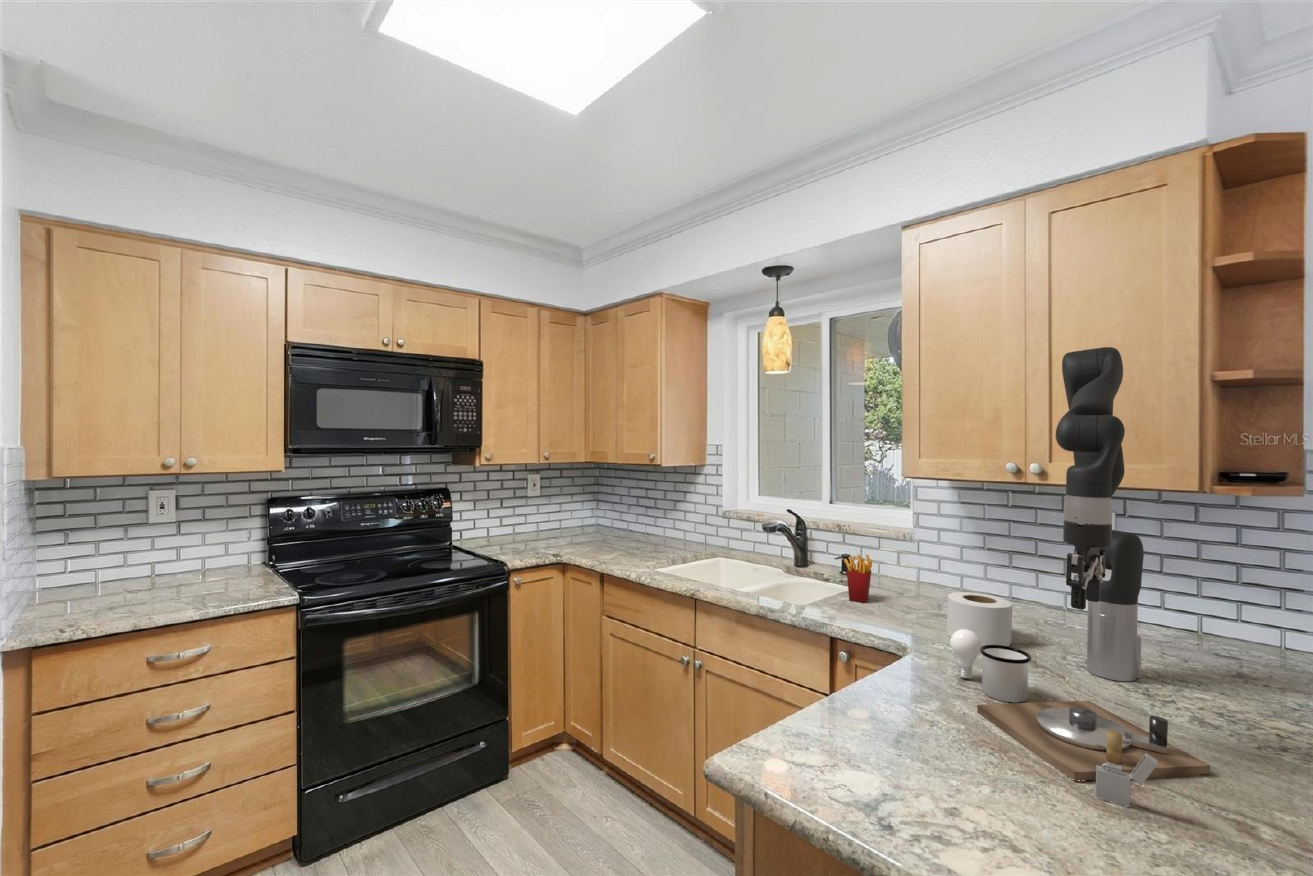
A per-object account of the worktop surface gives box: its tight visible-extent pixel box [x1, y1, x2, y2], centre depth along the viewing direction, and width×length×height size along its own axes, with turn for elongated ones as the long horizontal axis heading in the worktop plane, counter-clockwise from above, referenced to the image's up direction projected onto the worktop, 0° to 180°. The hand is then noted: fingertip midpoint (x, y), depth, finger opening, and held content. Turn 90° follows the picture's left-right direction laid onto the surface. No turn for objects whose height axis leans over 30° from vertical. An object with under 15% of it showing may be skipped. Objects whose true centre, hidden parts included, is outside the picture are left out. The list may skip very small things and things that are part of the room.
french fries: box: [843, 554, 873, 604], centre depth 202 cm, size 9×8×15 cm
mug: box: [980, 645, 1032, 704], centre depth 129 cm, size 12×10×9 cm
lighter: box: [1095, 753, 1158, 808], centre depth 90 cm, size 7×2×8 cm, turn 55°
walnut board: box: [976, 700, 1211, 782], centre depth 109 cm, size 24×24×6 cm
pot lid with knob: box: [1037, 707, 1169, 754], centre depth 108 cm, size 19×14×5 cm
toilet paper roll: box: [946, 591, 1013, 647], centre depth 165 cm, size 16×15×11 cm
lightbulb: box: [949, 629, 982, 680], centre depth 136 cm, size 6×6×11 cm
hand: (1085, 604), depth 116 cm, fingers open, 8 cm apart
